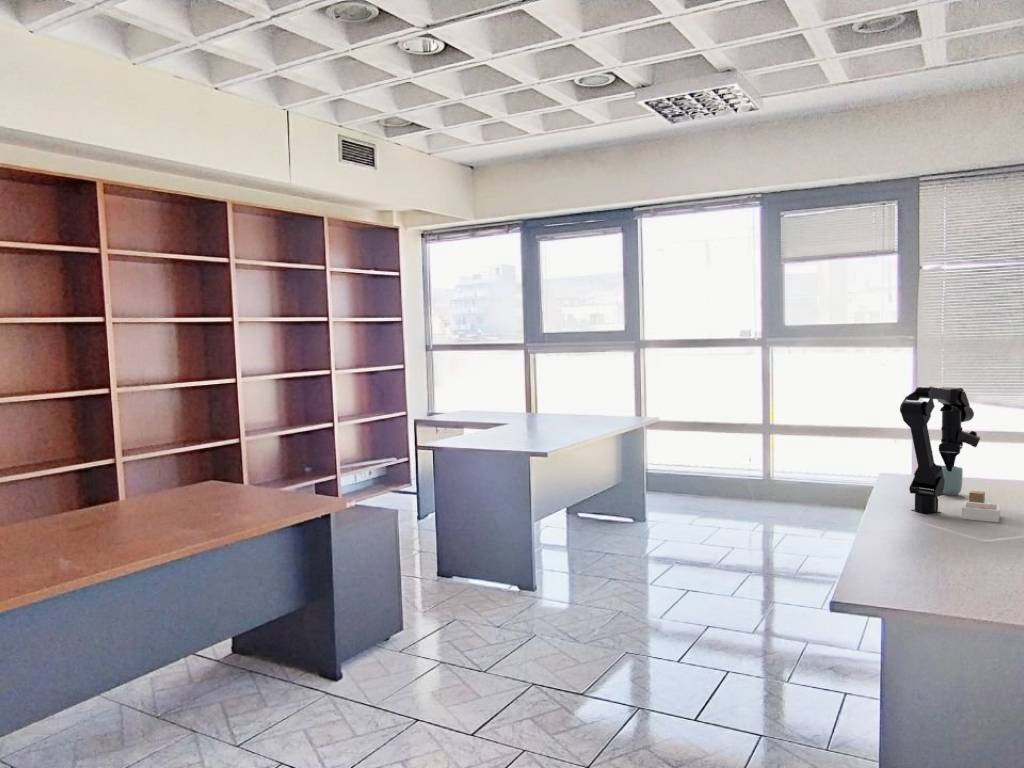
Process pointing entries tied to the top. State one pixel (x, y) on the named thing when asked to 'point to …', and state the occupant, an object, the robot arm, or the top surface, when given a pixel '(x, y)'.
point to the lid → (977, 496)
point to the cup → (952, 480)
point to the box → (981, 511)
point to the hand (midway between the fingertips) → (950, 469)
